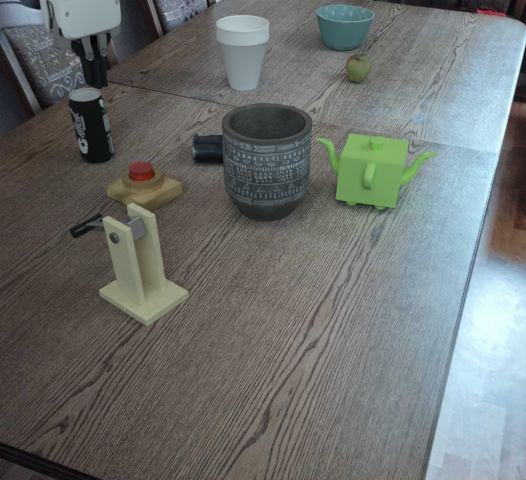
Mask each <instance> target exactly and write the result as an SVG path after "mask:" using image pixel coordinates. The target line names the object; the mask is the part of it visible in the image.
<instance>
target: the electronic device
mask: <svg viewBox="0 0 526 480" xmlns="http://www.w3.org/2000/svg"><path fill="white" fill-rule="evenodd" d="M192 137H193V138H192V143H191V151H192V153H191V154H192V160H193V161H194V162H195V163H200V162H205V163H218V162H220V163H224V161H223V141H222V134H208V135H199V134H198V133H197V132H193V136H192Z"/></svg>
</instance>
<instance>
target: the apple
mask: <svg viewBox="0 0 526 480" xmlns="http://www.w3.org/2000/svg"><path fill="white" fill-rule="evenodd" d="M345 70H346V75H347V79H349V81H350V82H355V83H357V84H361V82H363V81H364V79H365V78H367V76H368V75H369V73H370V71H371V60H370V58H369V57H368V55H367V54H366V53H356V54H355V53H354V54H352V55H350V56H349V57H348V58H347V59H346V62H345Z"/></svg>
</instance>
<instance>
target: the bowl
mask: <svg viewBox="0 0 526 480" xmlns="http://www.w3.org/2000/svg"><path fill="white" fill-rule="evenodd" d="M315 14H316V19H317V24H318V29H319V33H320V37H321V41H322V42H323V44H325V46H326V47H327V48H329V49H331V50H335V51H352V50H355V49H357V48H358V47H360V46H361V45H362V44H363V42H364V40H365V38H366V36H367V34H368V32H369V30H370V27H371V25H372V22H373V21H374V18H375V13H374V11H372V10H370V9H368V8H365V7H362V6H357V5H351V4H330V5H325V6H321V7H319V8H318V9H316V12H315Z"/></svg>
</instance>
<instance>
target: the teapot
mask: <svg viewBox="0 0 526 480" xmlns="http://www.w3.org/2000/svg"><path fill="white" fill-rule="evenodd" d="M316 141H318V142H319V143H321V145H323V146H324V148H325V149H326V151H327V156H328V161H329V165H330V166H329V167H330V169H331V170H332V172H333V173H334V175H336V176H337V183H336V193H335V200H337V201H343V202H345V204H346V205H349V206H355V205H357V204H364V205H371V206H373V207H374V208H375V209H377V210H385V209H387V208H389V209H396V207H397V203H398V199H399V194H400V189H401V187H403V186H405V185H408V184H410V182H411V181H412V180H414V178H415V177H416V175H417V174H418V171H419V170H420V168H421V166H422V165H423V163H424V162H425V161H427V160H428V159H431V158H433V157H436V156H438V153H435V152H429V151H427V152H422V153H420V154H419V155H417V157H416V158H415V159H414V161H413V163H412V164H411V165H409V166H408V167H406V168H405V164H406V160H407V153H408V150H409V149H408V148H409V143H410V140H407V139H398V138H390V137H384V136H383V135H379V134H378V135H367V134H360V133H359V134H358V133H348V136H347V139H346V141H345V144H344V146H343V148H342V151H341V154H340V157H339V156H338V154H337V151H336V148H335V145H334V143H333V141H331V140H330V139H326V138H321V137H320V138H316Z"/></svg>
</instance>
